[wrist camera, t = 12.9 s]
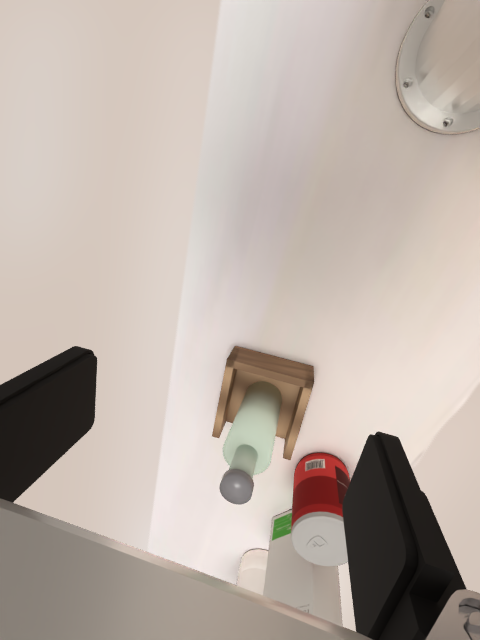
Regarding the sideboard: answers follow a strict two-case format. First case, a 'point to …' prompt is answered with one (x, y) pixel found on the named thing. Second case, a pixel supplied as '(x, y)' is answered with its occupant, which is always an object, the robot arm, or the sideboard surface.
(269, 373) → the u rest
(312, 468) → the canned food
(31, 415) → the robot arm
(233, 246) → the sideboard surface
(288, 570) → the skincare box
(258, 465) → the bottle
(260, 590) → the bottle
